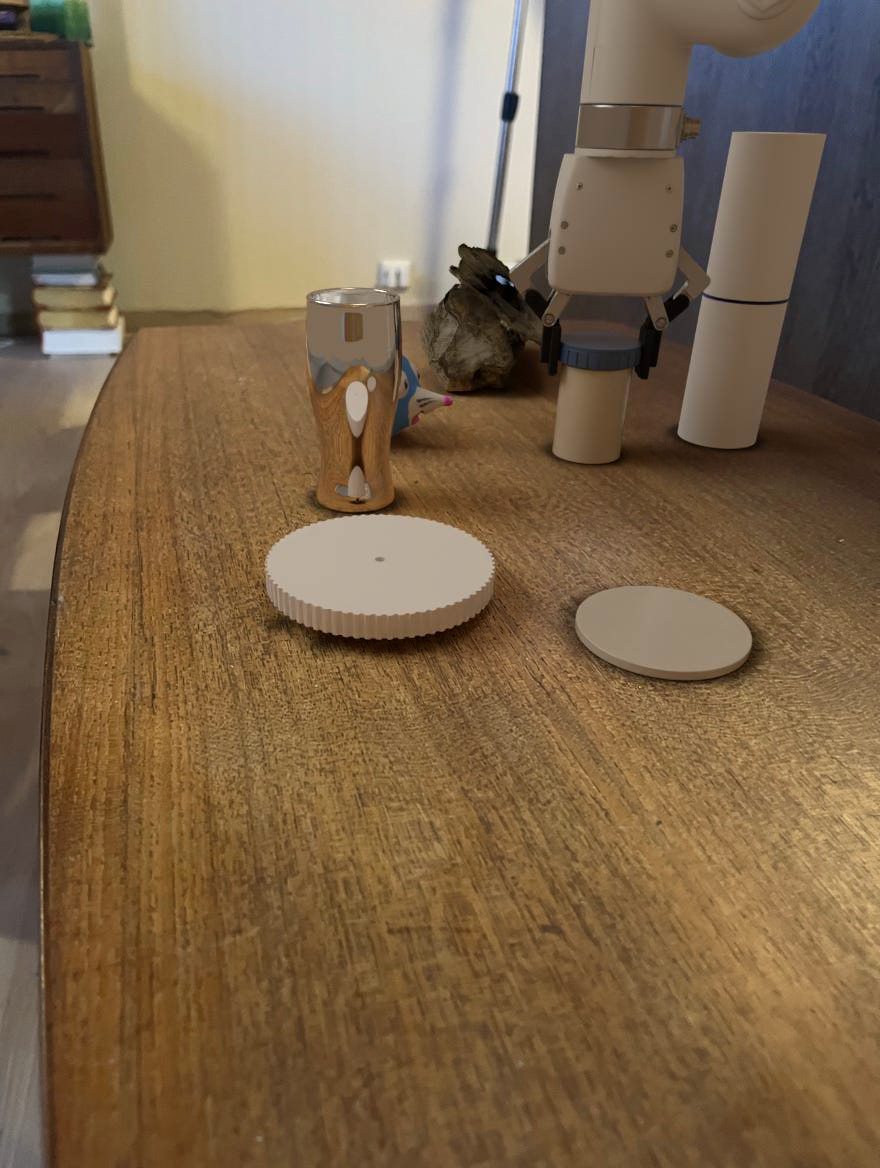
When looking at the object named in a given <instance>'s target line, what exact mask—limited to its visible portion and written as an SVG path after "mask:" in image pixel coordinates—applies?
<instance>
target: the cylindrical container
mask: <svg viewBox="0 0 880 1168" xmlns="http://www.w3.org/2000/svg"><path fill="white" fill-rule="evenodd" d="M826 139H827V133H810V132H777V131H776V132H775V131H774V132H773V131H732V132H731V138H730V143H729V148H728V155H727V160H726V165H725V171H724V176H723V181H722V186H721V192H720V197H719V202H718V203H719V204H718V208H717V214H716V220H715V225H714V231H713V236H712V240H711V247H710V253H709V259H708V263H707V268H706V272H705V273H706V274H707V275H708V276H709V277H710V279H711V282H710V285H709V286H708V287H707V288H706V289H705V290H704V291H703V292H702V296H701V302H700V306H699V312H698V318H697V323H696V330H695V333H694V339H693V345H692V351H691V356H690V362H689V367H688V372H687V378H686V383H685V389H684V394H683V400H682V406H681V410H680V411H681V412H680V416H679V422H678V426H677V435H678V437H679V438H681V439H682V440H684V441H687V442H688V443H691V444H694V445H698V446H701V447H707V448H713V449H726V450H727V449H728V450H729V449H731V450H733V449H735V450H736V449H743V448H744V449H745V448H749V447H751V446H753V445H755V443H757V437H758V433H759V429H760V424H761V419H762V415H763V412H764V407H765V403H766V398H767V394H768V389H769V386H770V382H771V376H772V372H773V368H774V364H775V360H776V355H777V351H778V347H779V342H780V338H781V334H782V328H783V325H784V321H785V316H786V312H787V307H788V303H789V298H790V295H791V290H792V286H793V282H794V277H795V272H796V269H797V265H798V264H797V263H798V260H799V255H800V252H801V247H802V243H803V239H804V234H805V229H806V225H807V221H808V216H809V212H810V208H811V203H812V200H813V196H814V191H815V187H816V182H817V178H818V174H819V169H820V165H821V160H822V157H823V153H824V149H825V143H826Z"/></svg>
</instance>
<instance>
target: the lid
mask: <svg viewBox="0 0 880 1168" xmlns="http://www.w3.org/2000/svg"><path fill="white" fill-rule="evenodd" d="M642 344H643V343H642V342H641V340H639V338H638V337H634V336H631V335H627V334H623V333H616V332H610V331H609V332H608V331H593V330H592V331H591V330H590V331H589V330H587V331H572V332H567V333H564V334H561V341H560V351H559V360H558V362H559V363H564V364H567V365H571V366H575V367H580V368H586V369H596V370H620V369H628V368H632V367H633V368H634V367H635V366H637V365H638V364H640V359H641V352H642Z"/></svg>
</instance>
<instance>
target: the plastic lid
mask: <svg viewBox="0 0 880 1168" xmlns="http://www.w3.org/2000/svg"><path fill="white" fill-rule="evenodd" d="M264 571H265V572H264V573H265V586H266V593H267V594H268V595H267V596H268V598H269V599H270V602H271V603H273V606H274V607H275V608H277V610H278V611H279V612H283V615H284V616H285V617H288V616H289V619H290V620H292V621H295V620H296V624H298V625H299V624H300V625H301V624H302V625H304V627H306V628H312V629H313V631H314V630H315V631H322V633H325V634H329V633H330V634H332V635H333V636H339V635H340V636H342V637H344V638H349V637H353V638H354V639H357V640H358V639H360V638H364V639H365V640H371V639H375V640H379V641H381V640H383V639H387V640H390V641H391V640H393V639H398V640H404V639H405V638H409V639H412V638H415V637H417V636H420V637H425V636H426V635H427V634H429V635H435V634H436V632H439V633H440V632H441V633H442V632H444V631H446V629H449V630H451V629H453V628H454V627H455V626H461V625H462V623H463V622H464V623H466V622H468V621H469V620H470V618H471V619H474V618H475V617H476V614H477V615H479V614H481V610H485V608H486V606H487V605H488V604H489V601H491V600H492V596H493V593H494V585H495V575H496V562H495V557H493V553H492V552H491V550H490V549H489V548H487V545H486V544H483V541H481V540H478V537H476V536H473V535H472V534H471V533H467V531H465V530H460V528H458V527H453V526H452V525H451V524H445V522H437V520H429V519H428V518H420V517H418V516H415V517H412V516H411V515H405V516H404V515H402V514H397V515H394V514H390V513H389V514H384V513H379V514H375V513H372V514H367V515H366V514H360V515H356V514H353V515H351V516H348V515H346V516H343V517H335V518H332V519H330V518H328V519H325V520H319V521H317V522H316V523H314V522H313V523H310V525H304V526H303V527H301V528H296V530H295V531H290V532H289V534H286V535H284V536H283V538H280V539H279V540H278V541H276V542H275V543H274V545H272V546H271V547H270V549H269V550H268V552H267V554H266V556H265V559H264Z"/></svg>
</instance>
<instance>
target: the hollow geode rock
mask: <svg viewBox="0 0 880 1168" xmlns="http://www.w3.org/2000/svg"><path fill="white" fill-rule="evenodd" d="M457 255H458V256H459V258H460V260H459V262H458V266H456V265H453V264H451V265H450V266H449V268H448V272H449V273H450V274H451V275H452V276H453V277H454V278H456V279H457V281H458V282H459V283H455V284H453V285H452V287H451V288H450V289H449V290H448V291H447V292H446V293H445V294H444V297H443V298H442V299H441V300H440V301H439V303H437V304H436V306H435V307H434V309H433V310H432V311H431V312H429V313H428V314H426V316H425V317H424V319H423V322H422V325H421V329H420V331H419V334H420V342H421V344H422V350H423V352H424V354H425V356H426V359H427V361H428V365H429V366H430V368H431V369H432V371H433V372H434V374H435V376H436V378H437V380H438V382H439V384H440V385H441V387H442V388H443V390H444V391H446V392H465V391H475V390H477V389H484V388H493V389H501V388H504V386H505V383H506V380H507V378H508V377H509V375H510V373H511V370H512V368H513V366H515V364H517V361H518V360H519V357H520V355H521V353H522V352H523V351H524V349H525V348H526V343H527V342H529V341H530V342H534V344H535V345H538V346H540V347H541V339H542V329H543V323H542V321H541V320H540V319H539V318H538V316H537V315H536V314H535V313H534V312H533V310H532V309H531V308H530V307H529V306H528V305H527V303H526V302H525V300H524V299H523V297H522V296H521V294H520V293H519V292H518V290H517V289H516V287H515V286H514V284H513V283H512V282H511V280H510V278H509V271H510V270H511V268H509V266H508V265H506V264H505V263H504V262H503V261H502V260H500V259H499V258H498V257H497V256H495V255H494V254H493V253H492V252H490V250H488V249H486V248H483V247H478V246H472V247H471V246H469V245H468V244H466V243H464V242H463V243H461V244H459V245H458V246H457ZM497 277H501V278H502V279H504V280H506V281H508V282H510V284H512V285H510V284H503V283H502V282H500V281H499V280H498V279H497Z"/></svg>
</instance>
